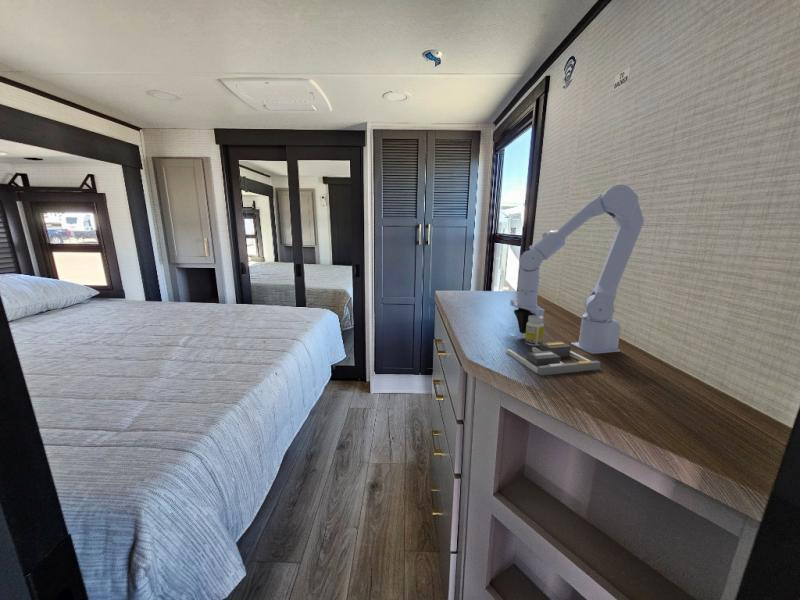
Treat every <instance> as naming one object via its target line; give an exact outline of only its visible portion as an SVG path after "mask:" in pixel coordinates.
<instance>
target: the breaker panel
mask: <svg viewBox="0 0 800 600" xmlns="http://www.w3.org/2000/svg"><path fill="white" fill-rule="evenodd" d="M531 351H532V352H540V351H541V350H539V348H537V346H534V347H532V348H531ZM506 354H508V355H509V356H511V357H512V358H513V359H515V360H517V361H518V363H519V362H520V364H522V365H524V366H525V367H527V368H528V369H529V370H532V372H534V373H535V374H537V375H538V376H548V375H558V374H559V375H560V374H566V373H579V372H586V371H596V370H600V369H601V361H599V360H591V359H588V358H587V357H585V356H582V355H580V354H578V353H576V352H574V351H573V350H570V356H569V357H570V358H571V357H572V358H573V359H575V360H577V361H576V362H569V363H564V362H563V361H561V360H560V363H558V364H548V365H546V366H538V367H536V366H535V365H533V364H532V363H530V362H529V361H527V358H525V357H523V356H521V355H520V354H518V353H516V352H515V351H514V350H512V349H511V348H507V349H506Z"/></svg>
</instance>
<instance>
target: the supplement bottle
mask: <svg viewBox="0 0 800 600" xmlns="http://www.w3.org/2000/svg"><path fill="white" fill-rule="evenodd" d="M528 321H529V322H527V324H526V333H525V336H524V337H525V338H524V343H525V344H527V345H530V346H534V347H540V343H543V337H544V329H545V325H544V323H543V322H544V316H536V315H529V317H528Z"/></svg>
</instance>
